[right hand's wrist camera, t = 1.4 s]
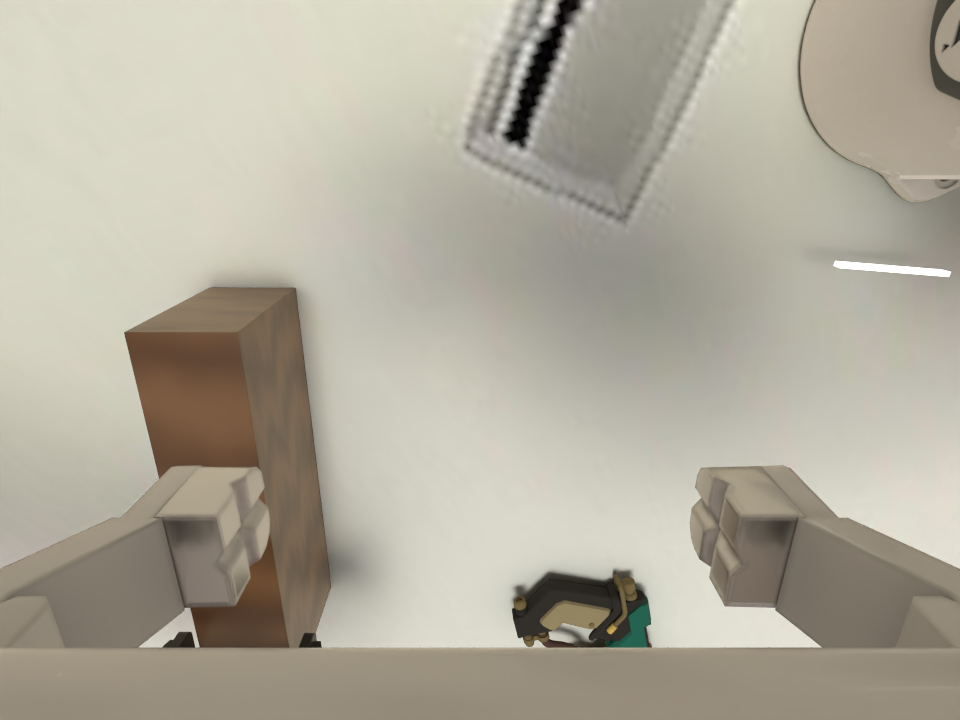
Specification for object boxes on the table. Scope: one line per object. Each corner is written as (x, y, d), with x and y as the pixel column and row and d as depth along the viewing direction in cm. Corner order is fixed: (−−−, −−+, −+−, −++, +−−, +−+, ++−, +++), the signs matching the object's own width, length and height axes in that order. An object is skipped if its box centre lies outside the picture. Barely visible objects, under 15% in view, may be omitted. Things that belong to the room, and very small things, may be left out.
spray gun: (513, 561, 48) (683, 564, 48) (500, 708, 53) (654, 709, 53) (518, 596, 44) (704, 598, 44) (504, 752, 49) (671, 752, 49)
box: (209, 287, 38) (123, 332, 29) (295, 287, 38) (237, 332, 29) (261, 586, 48) (210, 692, 39) (331, 586, 48) (296, 692, 39)
